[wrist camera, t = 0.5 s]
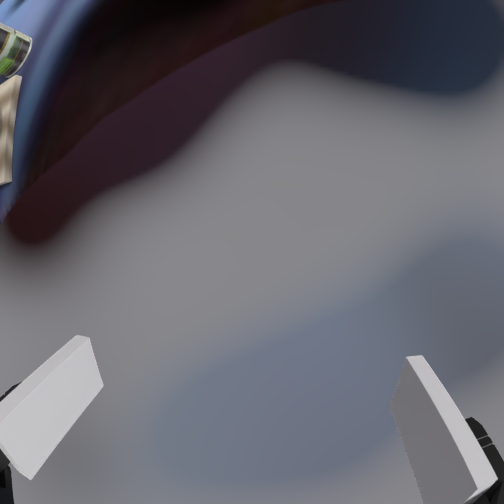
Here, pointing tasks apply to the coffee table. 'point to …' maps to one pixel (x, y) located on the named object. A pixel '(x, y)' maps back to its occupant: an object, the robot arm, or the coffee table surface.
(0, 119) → the disc stand with rod
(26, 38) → the coffee can
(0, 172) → the base board
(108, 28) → the coffee table surface
